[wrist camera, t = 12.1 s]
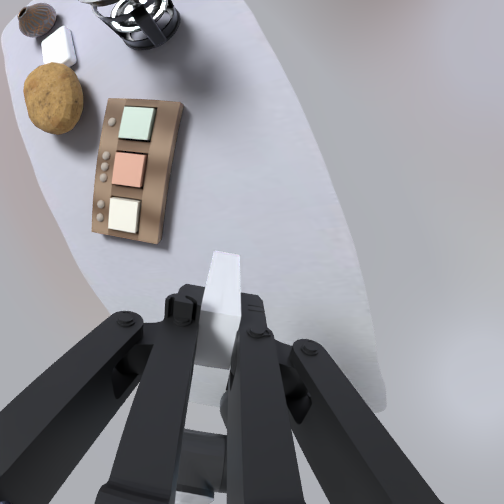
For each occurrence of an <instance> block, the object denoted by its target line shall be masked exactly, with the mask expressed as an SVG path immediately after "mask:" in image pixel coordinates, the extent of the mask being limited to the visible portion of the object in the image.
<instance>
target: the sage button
mask: <svg viewBox="0 0 504 504" xmlns="http://www.w3.org/2000/svg"><path fill="white" fill-rule="evenodd" d="M156 113H157V110H156V109H154V108H142V107H124V111H123V115H122V120H121V125H120V130H119V136H118V137H119V138H128V139H139V140H150V141H151V137H152V132H153V127H154V122H155V117H156Z"/></svg>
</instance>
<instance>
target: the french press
mask: <svg viewBox="0 0 504 504" xmlns="http://www.w3.org/2000/svg"><path fill="white" fill-rule="evenodd" d="M79 1H80V2H82V3H88V4H90V5H92V11H93V12H94V14H95V15H96V16H97V17H99V18H100V19H101V20H102V21H103V22H104V23H105V24H106V25H108V26H109V27H110V28H111V29H112V30H113V31H114V32H115V33H116V34H118V35H119V36H120V37H121V38H122V39H123V41H124V42H125V44H126V45H128V46H129V47H130V48H133V49H137V50H147V49H151V48H154V47H157V46H159V45H161V44H163V43H164V42H166V41H167V40H168V39H170V38H171V37H172V36H173V34H174V33H175V32H176V30H177V28H178V26H179V23H180V16H179V13H178V11H177V9H176V8H175V7H174V5H173V3H172V1H171V0H79ZM116 2H118V3H117V4H116V5H115V6H114V8H113V10H112V12H111V15H110V17H103V16H102V15H101V14H100V13H99V12H98V11H97V6H107V5H111V4H114V3H116ZM165 10H166V11H167V12H168V13H169V14H170V16H171V19H170V21H169V23H168V24H167V25H166V26H165V27H164V28H163V29H162V30H160V28H159V27H158V25H157V24H156V22H157V21H158V20H159V19H160V18H161V17H162V15H163V14H164V12H165ZM138 31H143V32H144V33H145V34H146V36H147V37H148V38H146V39H143V40H136V41H135V40H133V39H132V38H131V36H130V33H133V32H138Z"/></svg>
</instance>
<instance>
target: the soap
mask: <svg viewBox="0 0 504 504" xmlns="http://www.w3.org/2000/svg"><path fill="white" fill-rule="evenodd" d="M41 46H42V53H43V60H44V64H48V63H51V62H56V63H61V64H65V65H66V66H68V67H69V68H70V67H71V66H72V65H74V64H75V63H76V61H77V59H76V55H75V50H74V46H73V41H72V36H71V31H70V29H68V28H67V27H65V26H62V27H60V28H59V29H58V30H56V31H55V32H54V33H53V34H51V35H50V36H49V37H48V38H46V39H45V40H44V41H42V43H41Z"/></svg>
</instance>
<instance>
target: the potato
mask: <svg viewBox="0 0 504 504" xmlns="http://www.w3.org/2000/svg"><path fill="white" fill-rule="evenodd" d="M24 97H25V102H26V106H27V110H28V115H29V118H30V119H31V121H32V122H33V124H34V125H35V126H36V127H38V128H39V129H41V130H43V131H45V132H47V133H51V134H56V135H60V134H63V133H66V132H68V131H70V130H72V129H73V128H74V126H75V125H76V123H77V122H78V121H79V119H80V116H81V113H82V110H83V92H82V88H81V85H80V82H79V80H78V78H77V76H76V74H75V72H74V71H73V70H72V69H71V68H69V67H68V66H66V65H65V64H61V63H56V62H51V63H48V64H44V65H41V66H39V67H37V68H36V69H35V70H34V71H32V72H31V73H30V74H29V75H28V77H27V79H26V81H25V83H24Z"/></svg>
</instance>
